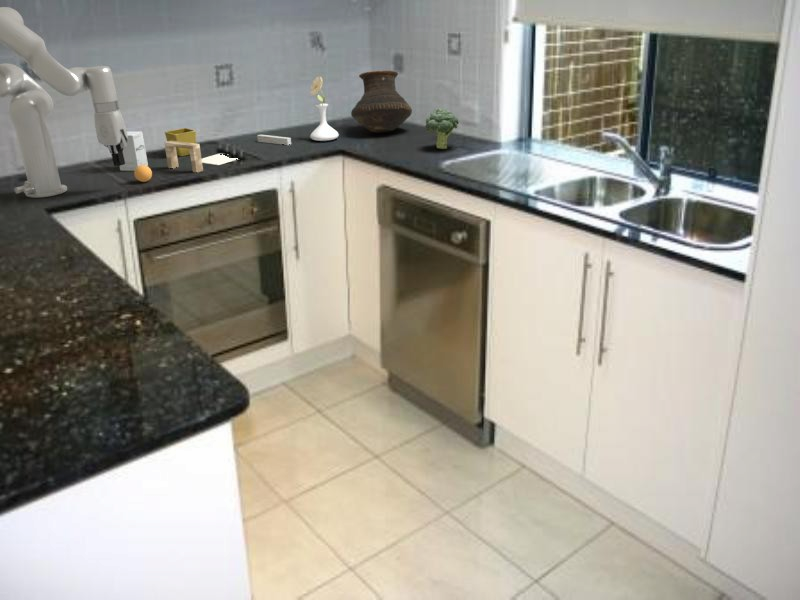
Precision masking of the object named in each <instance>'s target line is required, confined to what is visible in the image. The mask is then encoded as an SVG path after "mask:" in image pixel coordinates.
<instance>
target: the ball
mask: <svg viewBox="0 0 800 600" xmlns="http://www.w3.org/2000/svg"><path fill="white" fill-rule="evenodd" d="M133 172H134V173H133V174H134V177H135V179H136V180H137V181H139V182H141V183H146V182H148V181H149V180H151V178H152V176H153V171H152V169H151V168H150V167H149V165H148V166H146V165H140V166H138V167H137V168H136V169H135V171H133Z"/></svg>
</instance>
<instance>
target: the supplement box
mask: <svg viewBox="0 0 800 600" xmlns="http://www.w3.org/2000/svg"><path fill="white" fill-rule="evenodd" d="M127 135H128V141H127V142H126V143H127V147H125V148H124V149H123V150H124V152H123V156H124V160H125V164H124V165H121V166H119V170H120V171H125V172H130V171H131V172H134V171H135V169H136V168H137V167H138V166H140V165H146V166H148V167H149V163H148V158H147V151H146V146H145V145H146V144H145V140H144V134H143V131H127Z"/></svg>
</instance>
